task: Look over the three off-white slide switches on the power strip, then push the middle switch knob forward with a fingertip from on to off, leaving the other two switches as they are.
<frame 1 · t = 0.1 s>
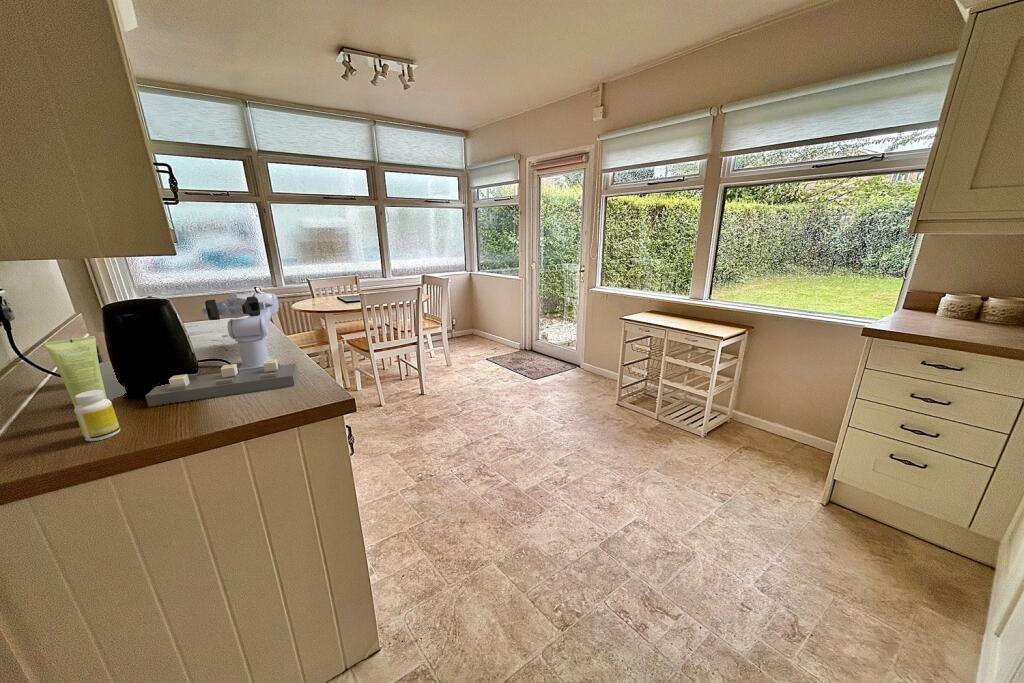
hand: (226, 311, 100), 22 cm above the countertop, tool horizontal, fingers open, 7 cm apart
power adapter: (112, 399, 99), on the countertop
supplement bottle: (103, 436, 82), on the countertop
tube: (98, 420, 88), on the countertop
switch mid: (229, 370, 106), point 5 cm above the countertop, slide at 0.0 cm
power strip: (231, 388, 105), on the countertop
switch c: (179, 381, 99), point 4 cm above the countertop, slide at 4.0 cm
supplement container: (92, 383, 110), on the countertop
switch a: (270, 365, 110), point 5 cm above the countertop, slide at 0.0 cm
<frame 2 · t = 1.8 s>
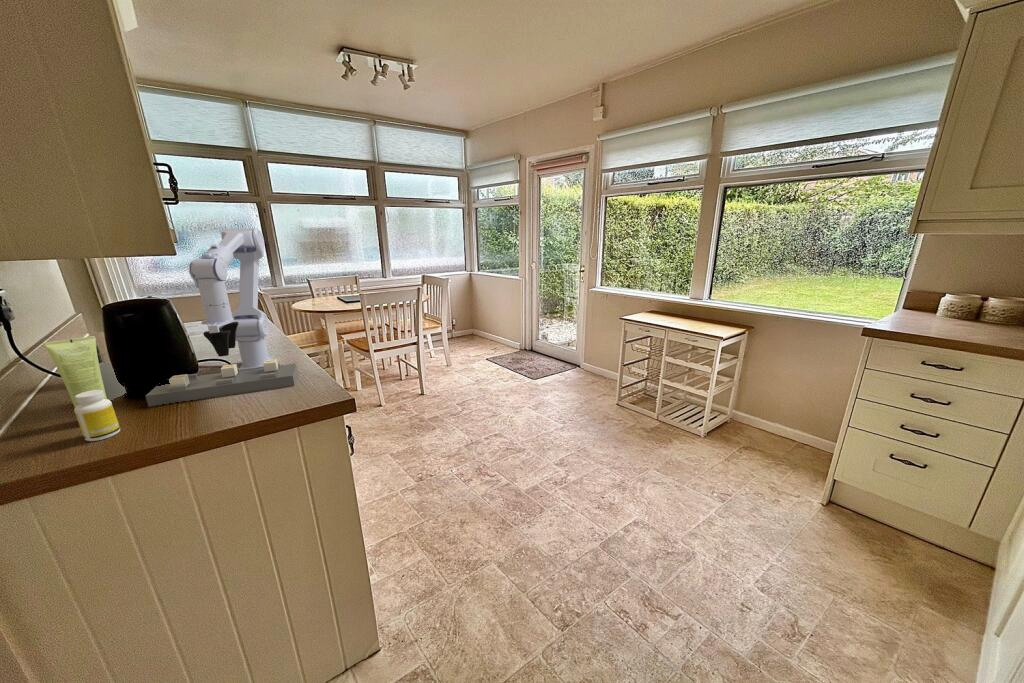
hand: (227, 351, 106), 9 cm above the countertop, tool pointing down, fingers open, 7 cm apart
nothing on the countertop moved.
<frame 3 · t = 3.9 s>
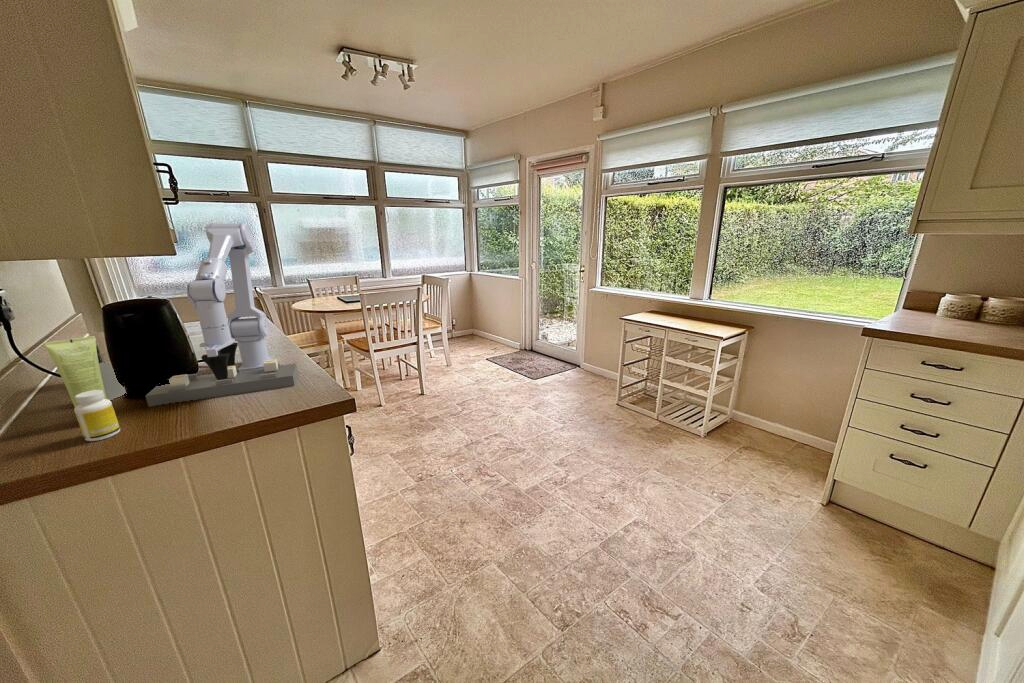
hand: (226, 374, 103), 5 cm above the countertop, tool pointing down, fingers open, 7 cm apart
switch mid: (228, 372, 105), point 5 cm above the countertop, slide at 1.3 cm, touching gripper
everything else where it was.
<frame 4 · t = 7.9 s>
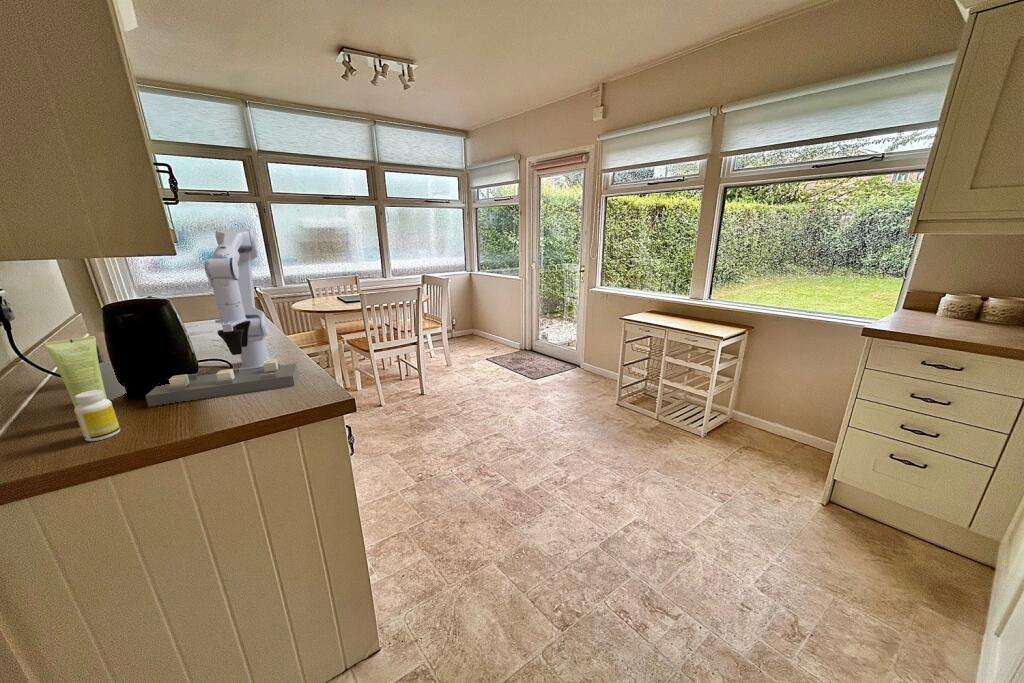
hand: (240, 350, 107), 9 cm above the countertop, tool pointing down, fingers open, 7 cm apart
switch mid: (225, 375, 102), point 4 cm above the countertop, slide at 4.1 cm
everything else where it was.
at the end: switch mid slide at 4.1 cm; switch a slide at 0.0 cm; switch c slide at 4.0 cm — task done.
